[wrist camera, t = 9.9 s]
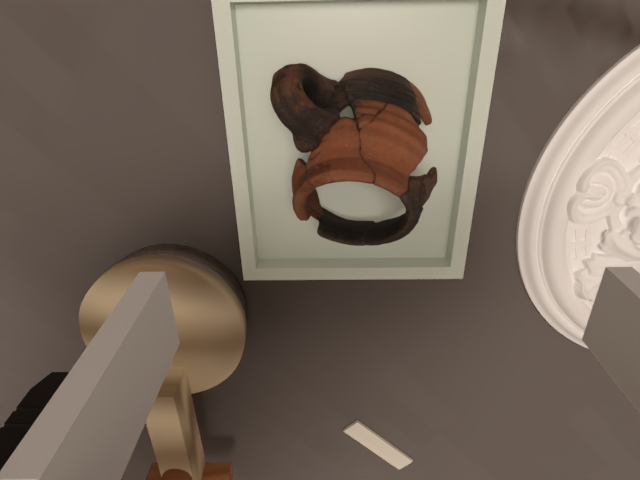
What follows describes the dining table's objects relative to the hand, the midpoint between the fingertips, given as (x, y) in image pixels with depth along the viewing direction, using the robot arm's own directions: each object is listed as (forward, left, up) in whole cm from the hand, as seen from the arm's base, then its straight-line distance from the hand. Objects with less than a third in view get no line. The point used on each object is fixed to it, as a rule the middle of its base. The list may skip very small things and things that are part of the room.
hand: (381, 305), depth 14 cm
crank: (-14, -18, -16) cm, 28 cm away
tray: (0, 0, -18) cm, 18 cm away
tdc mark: (+3, -30, -18) cm, 35 cm away
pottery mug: (0, +1, -18) cm, 18 cm away
